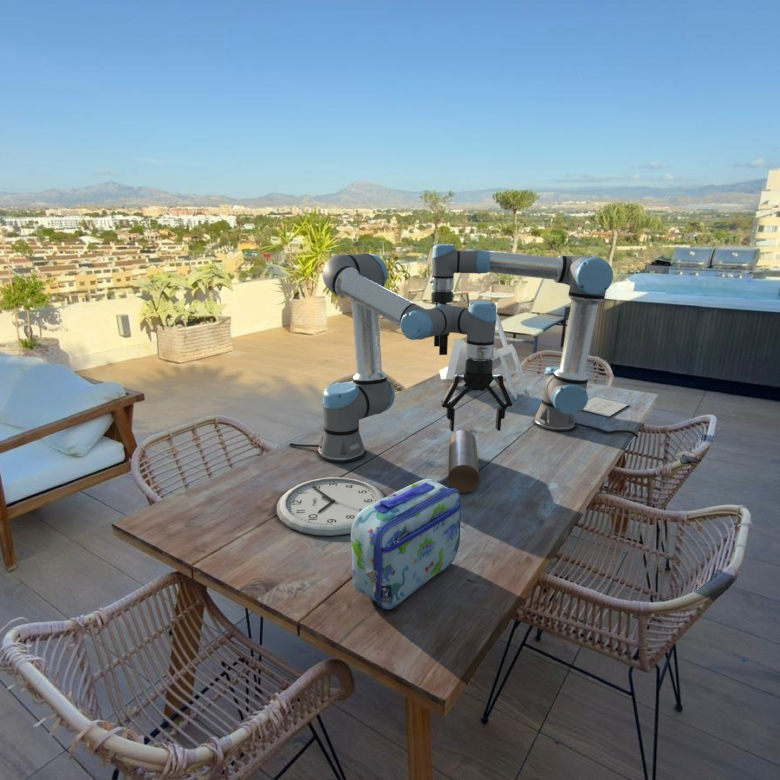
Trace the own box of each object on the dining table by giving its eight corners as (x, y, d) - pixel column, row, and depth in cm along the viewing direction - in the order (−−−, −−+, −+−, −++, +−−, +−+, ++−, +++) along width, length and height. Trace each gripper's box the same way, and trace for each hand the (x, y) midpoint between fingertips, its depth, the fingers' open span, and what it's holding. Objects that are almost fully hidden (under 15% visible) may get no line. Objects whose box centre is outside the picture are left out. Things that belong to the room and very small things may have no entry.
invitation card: (608, 416, 214) (573, 407, 224) (608, 416, 214) (573, 408, 224) (628, 404, 229) (594, 396, 238) (628, 405, 229) (594, 397, 238)
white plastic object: (461, 429, 252) (437, 405, 227) (444, 352, 274) (420, 323, 250) (535, 404, 240) (518, 377, 215) (510, 326, 262) (492, 293, 237)
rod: (448, 453, 177) (449, 429, 174) (475, 455, 176) (477, 430, 173) (447, 492, 151) (448, 463, 148) (478, 494, 150) (480, 465, 147)
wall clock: (392, 527, 129) (268, 531, 127) (391, 533, 130) (269, 537, 127) (383, 473, 158) (282, 475, 155) (383, 478, 158) (282, 480, 156)
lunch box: (380, 623, 100) (381, 528, 94) (344, 596, 108) (343, 505, 101) (464, 565, 118) (470, 482, 112) (428, 545, 125) (432, 466, 119)
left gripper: (437, 361, 141) (434, 434, 147) (527, 361, 142) (520, 433, 149) (432, 355, 148) (430, 425, 154) (519, 354, 149) (513, 424, 156)
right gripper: (427, 286, 193) (425, 343, 199) (436, 294, 169) (434, 358, 175) (447, 286, 193) (445, 342, 199) (459, 294, 169) (456, 358, 176)
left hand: (474, 429), depth 151 cm, fingers open, 13 cm apart
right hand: (440, 350), depth 187 cm, fingers open, 13 cm apart
